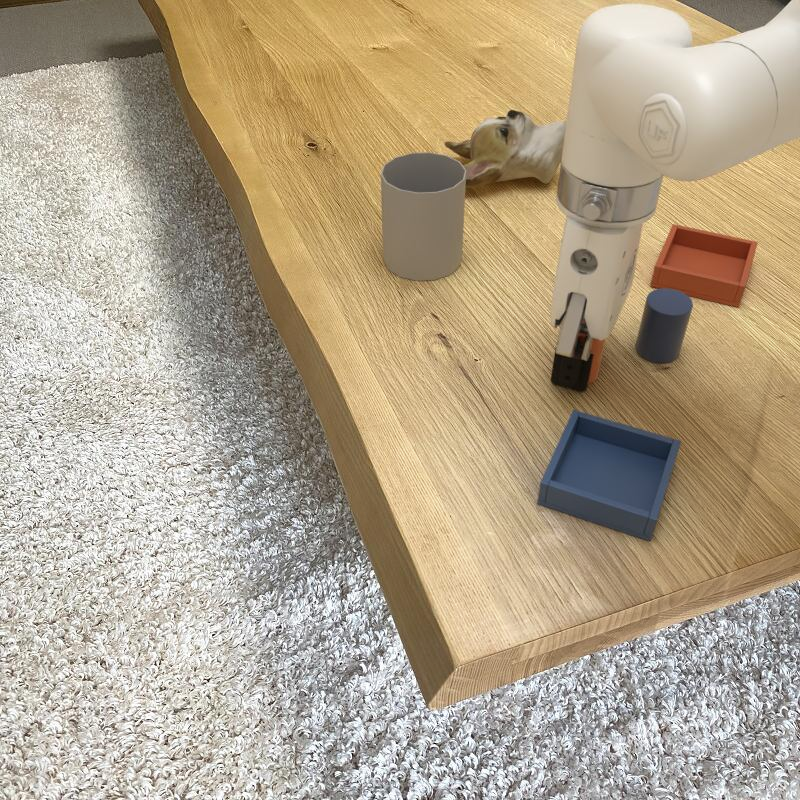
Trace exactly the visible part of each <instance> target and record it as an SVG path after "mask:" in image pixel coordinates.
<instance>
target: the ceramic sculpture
mask: <svg viewBox="0 0 800 800" xmlns="http://www.w3.org/2000/svg"><path fill="white" fill-rule="evenodd" d="M566 122H567V120H566V121H553V122H549V123H547V124H541V125H538V124H535V123H534V122H533V121H532V120H531V117H530V116H529V115H528V114H525V113H524V112H523V111H521V110H520V111H519V110H515V109H510V110H508V111H507V114H506V116H497V117H496V118H494V117H489V118H486V119H484V120H483V121H482V122H481V123H480V124H479V125H477V127H476V128H474V130H473V132H472V134H471V138H470V139H465V140H463V141H461V142H454V141H444V143H443V144H444V146H445V147H446V148H447V149H449V150H451V151H452V152H453V153H455V154H456V155H458V156H460V157H461V158H464V159H466V160H470V162H468V163H465V164H462V165H463V167H464V168H465V169H466V187H465V188H471V189H477V188H481V187H484V186H487V185H489V184H492V183H495V182H497V183H499V182H507V181H512V180H516V179H524V178H535V179H537V180H539V181H540V183H543V184H549V183H550V182H551V181H552V179H553V178H554V176H555V174H556V173H557V171H558V169H559V166H560V165H561V159H562V153H563V145H564V137H565V129H566Z"/></svg>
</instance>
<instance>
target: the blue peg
mask: <svg viewBox="0 0 800 800" xmlns="http://www.w3.org/2000/svg"><path fill="white" fill-rule="evenodd" d="M693 308H694V303H693V300H692V299H691V298H690V296H688V295H686V294H684V293H683V292H680V291H678V290H674V289H666V288H663V289H659V288H656V289H654V290H652V291H650V292H649V293H648V294H647V296H646V298H645V303H644V308H643V312H642V316H641V319H640V320H641V321H640V324H639V327H638V332H637V337H636V340H635V341H636V342H635V346H634V347H635V351H636V352H637V353H638V355H639V356H640V357H641V358H643V359H644V360H645V361H646V360H647V361H649V362H652V363H656V364H668V363H671V362H674V361H675V360H676V359H678V357H679V356H680V354H681V351H682V346H683V343H684V340H685V335H686V333H687V328H688V325H689V322H690V318H691V316H692V315H691V314H692V310H693Z"/></svg>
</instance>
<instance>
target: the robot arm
mask: <svg viewBox="0 0 800 800" xmlns="http://www.w3.org/2000/svg"><path fill="white" fill-rule="evenodd" d="M572 69H573V70H572V77H571V85H570V91H569V92H570V93H569V100H568V107H567V108H568V109H567V114H566V121H567V122H566V129H565V137H564V145H563V153H562V159H561V163H560V165H559V166H560V167H559V174H558V181H557V188H556V189H557V190H556V198H555V202H556V205H557V208H558V209H559V210H560V211H561V213H563V215H565V216H566V217H565V222H564V226H563V227H564V228H563V231H562V237H561V239H560V248H559V253H558V259H557V265H556V271H555V276H554V282H553V290H552V295H551V304H550V313H549V316H550V317H549V322H550V324H551V326H552V328H553V329H557V328H558V327H559V331H558V337H557V342H556V347H555V350H554V354H553V361H552V367H551V368H552V369H551V375H550V382H551V383H552V384H553V385H556V386H560V387H562V388H566V389H570V390H574V391H576V392H577V391H578V392H581V393H584V392H586V391H587V389H588V387H589V384H588V382H589V377H590V371H591V366H592V361H593V356H594V354H591V353H590V352H591V348H592V343H593V339H594V338H595V339H599V340H604V339H608V337H610V335H611V334H612V332H613V329H614V328H615V325H616V323H617V321H618V319H619V316H620V314H621V312H622V311H623V308H624V305H625V303H626V301H627V299H628V297H629V294H630V291H631V289H632V286H633V283H634V278H635V272H636V267H637V261H638V254H639V248H640V244H641V239H642V233H643V232H642V231H643V228H644V227H643V226H644V224H645V223H647V222H648V221H649V220H651V219H652V218H653V217H654V216H655V213H656V211H657V206H658V203H659V198H660V193H661V190H662V184H663V180H664V177H665V178H668V179H670V180H673V181H678V182H696V181H701V180H704V179H705V180H706V179H708V178H711V177H713V176H716V175H718V174H721V173H722V172H725V171H727V170H729V169H731V168H733V167H736V166H738V165H740V164H743V163H745V162H747V161H749V160H751V159H753V158H755V157H757V156H759V155H762V154H764V153H766V152H768V151H771V150H773V149H775V148H777V147H780V146H782V145H784V144H787V143H789V142H792V141H794V140H797V139H798V138H800V0H790V1H789V2H788V3H787V4H786V5H785V6H784V7H783V8H782V9H781V10H780V11H779V13H778V14H777V15H775V16H774V17H773V18H772V19H771V20H770V21H768V22H767V23H766V24H765V25H763V26H760V27H757V28H754V29H751V30H746V31H745V32H741V33H739V34H736V35H732V36H730V37H726V38H723V39H720V40H717V41H714V42H712V43H708V44H702V45H696V46H695V45H694V46H693V31H692V29H691V26H690V24H689V23H688V21H687V20H686V19H685V18H684V17H683V16H681V14H678V13H677V12H675V11H672V10H670V9H667V8H665V7H661V6H657V5H652V4H647V3H646V4H645V3H620V4H613V5H608V6H605V7H602V8H601V7H600V8H599V9H596V10H595V11H594V12H592V13H591V14H590V15H588V16H587V17H586V18H585V20H584V21H583V23H582V24H581V26H580V28H579V31H578V34H577V40H576V46H575V54H574V62H573V68H572ZM583 319H585V321H586V322H585V321H583ZM560 324H561V326H560ZM579 333H583V334H586V337H585V342H584V344H583V343H582V342H579V341H577V339H578V335H579Z"/></svg>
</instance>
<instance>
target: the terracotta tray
mask: <svg viewBox="0 0 800 800" xmlns="http://www.w3.org/2000/svg"><path fill="white" fill-rule="evenodd" d="M758 245H759V242H758V241H756V240H755V241H754V240H750V239H745V238H741V237H737V236H731V235H727V234H722V233H717V232H712V231H708V230H703V229H700V228H699V229H698V228H694V227H689V226H684V225H679V224H675V223H673V224H672V225H671V227H670V230H669V232H668V234H667V237H666V238H665V241H664V244H663V246H662V248H661V250H660V252H659V254H658V257H657V260H656V263H655V265H654V268H653V272H652V273H653V274H652V276H651V281H650V285H649V286H650V287H651V288H654V289H663V288H666V289H674V290H678V291H680V292H683V293H684V294H686V295H687V296H688V297H694V298H697V299H701V300H704V301H709V302H714V303H718V304H721V305H725V306H730V307H735V308H739V307H740V305H741V302H742V299H743V296H744V292H745V290H746V286H747V283H748V279H749V276H750V272H751V269H752V265H753V262H754V259H755V254H756V251H757V247H758Z"/></svg>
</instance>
